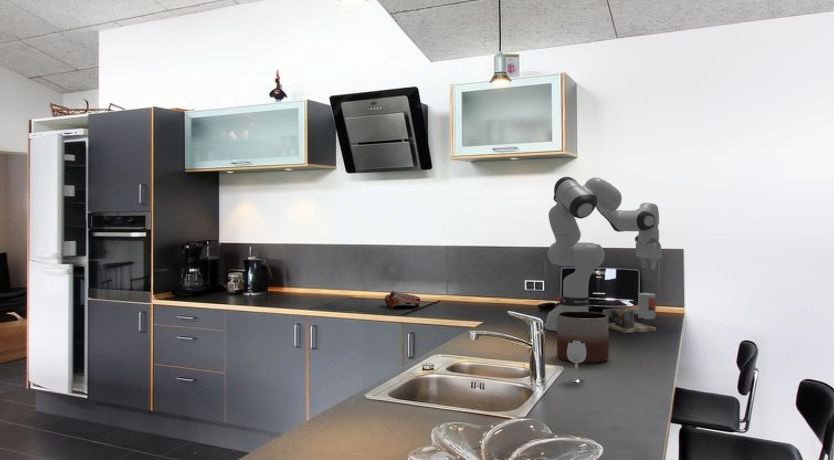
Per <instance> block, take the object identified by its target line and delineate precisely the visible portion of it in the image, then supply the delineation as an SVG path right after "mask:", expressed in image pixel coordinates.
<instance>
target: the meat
mask: <svg viewBox="0 0 834 460" xmlns="http://www.w3.org/2000/svg"><path fill="white" fill-rule="evenodd" d="M420 302H421V299H420V296H418V295H413V294H408V293H405V292H404V293H403V292H399V291H396V290H392V291H391V292H390V293H389V294H386V295H385V296H384V303H385V304H386V305H387V307H388V309H389V310H393V308H394V306H397V305H399V304H401V303H405V304H406V305H412V304H413V305H414V310H419V309H420Z"/></svg>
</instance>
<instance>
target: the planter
mask: <svg viewBox="0 0 834 460" xmlns="http://www.w3.org/2000/svg"><path fill="white" fill-rule="evenodd" d="M608 323H609V317H608V315H606V314H603V312H597V311H595V312H594V311H589V312H588V311H567V312H560V313H558V315H557V331H556V334H557V335H556V356H557V357H558V358H560V359H561V360H563V361H566V362H570V363H572V362H571V361H570V360H569V359H568V357H567V347H568V343H569V341H582V342H584V343H585V347H586V358H585V360H584V361H583V362H581V363H580V364H598V363H603V362H605V361H607V360H608V359H609V355H610V354H609V353H610V351H609V350H610V349H609V347H610V346H609V345H610V343H609V339H610V338H609V328H608Z"/></svg>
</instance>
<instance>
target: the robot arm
mask: <svg viewBox="0 0 834 460" xmlns="http://www.w3.org/2000/svg"><path fill="white" fill-rule="evenodd" d="M553 187H554V188H553V202H556V204H555V205H553V206H552V207H551V208H550V209H549V212H548V220H549V224H550V225H549V226H550V228H551V231H552V233H553V235H554V238H555V242H554V243H552V244H551V245H550V247H549V248H548V250H547V258H548V259H549V262H550V263H551V264H553V265H557V266H562V267H575V270H574V272H572V273H570V274H568V275H567V276H565V277H564V279H563V284H562V289H563V291H562V295H563V296H561V297H559V296H556V297H555V301H556V302H559V304H558V305H557V306H556V307H554V309H552V310H551V311H549V312H548V313H547V316H546V320H545V321H546V322H545V323H543V324H544V325H545V330H549V331H552V332H553V331H554V332H557V315H558V313H560V312H567V311H588V312H590V311H589V308H590V296H589V282H590V277H591V276H592V275H593V272H594V271H595V270H596V269H597V268H598V267H599V266H600V265H602V263H603V262H604V260H605V255H606V254H605V250H604V248H603V247H602V246H601V244H597V243H594V242H581V241H580V240H581V236H582V233H581V232H582V231H581V230H580V226H579V225H578V222H577V219H585V218H587V217H589V216H590V215H591V214H592V213H593V212H594V211H595V208H596V210H597V211H598V213H599V214H600V215H601V216H602V217H603V218H604V219H605V220H606V221H607V222H609V223H608V224H609V225H610V226H611V228H612V230H614V231H615V232H619V233H622V232H638V234H637V235H636V236H635V237H634V241H635V255H636V257H638V258H640V261H641V262H640V263H641V267H642V268H647V267H648V264H647V261H646V260H647V259H649V260H650V262H651V264H650V265H649V266H650V269H651V270H656V268H657V267H656V266H657V263H658V260H662V257H663V253H662V244H661V243H660V229H659V224H660V214H659V213H660V211H659V207H658V205H657V204H655V203H650V202H643V203H640V205H639V208H637V209H635V210H633V209H632V210H622V209H621V210H619V208H620V206H621V204H622V199H623V196H622V192H620V190H619V189H618V188H617V187H615V186H614V185H613V184H611V183H610V182H608V181H607V180H605V179H602V178H600V177H591V178H589V179H588V180H586V182H585V183H584V185H581V184H580V183H579V182H578V181H577V180H576V179H574V178H573V177H570V176H562V177H561V178H560V179H558V180H557V181H556V182H555V184H554V186H553ZM579 241H580V242H579Z"/></svg>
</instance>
